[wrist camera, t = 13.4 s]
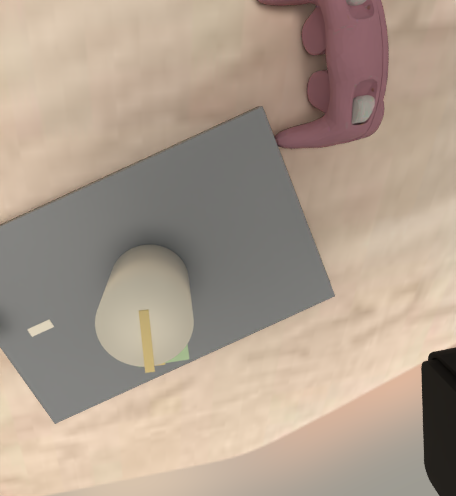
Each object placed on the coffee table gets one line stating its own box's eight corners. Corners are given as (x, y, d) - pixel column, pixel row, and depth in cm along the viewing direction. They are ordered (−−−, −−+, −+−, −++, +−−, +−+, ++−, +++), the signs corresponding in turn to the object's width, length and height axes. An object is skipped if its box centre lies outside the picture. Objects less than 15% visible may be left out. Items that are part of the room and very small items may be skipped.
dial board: (257, 106, 28) (262, 106, 26) (327, 288, 32) (335, 296, 31) (-53, 249, 28) (-66, 256, 26) (59, 410, 32) (54, 424, 31)
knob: (107, 244, 27) (88, 283, 21) (185, 239, 28) (190, 275, 22) (121, 361, 30) (109, 428, 24) (193, 354, 31) (200, 417, 24)
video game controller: (317, 141, 30) (406, 137, 25) (268, 153, 28) (352, 153, 23) (303, -17, 27) (400, -62, 22) (246, -17, 25) (337, -67, 19)
